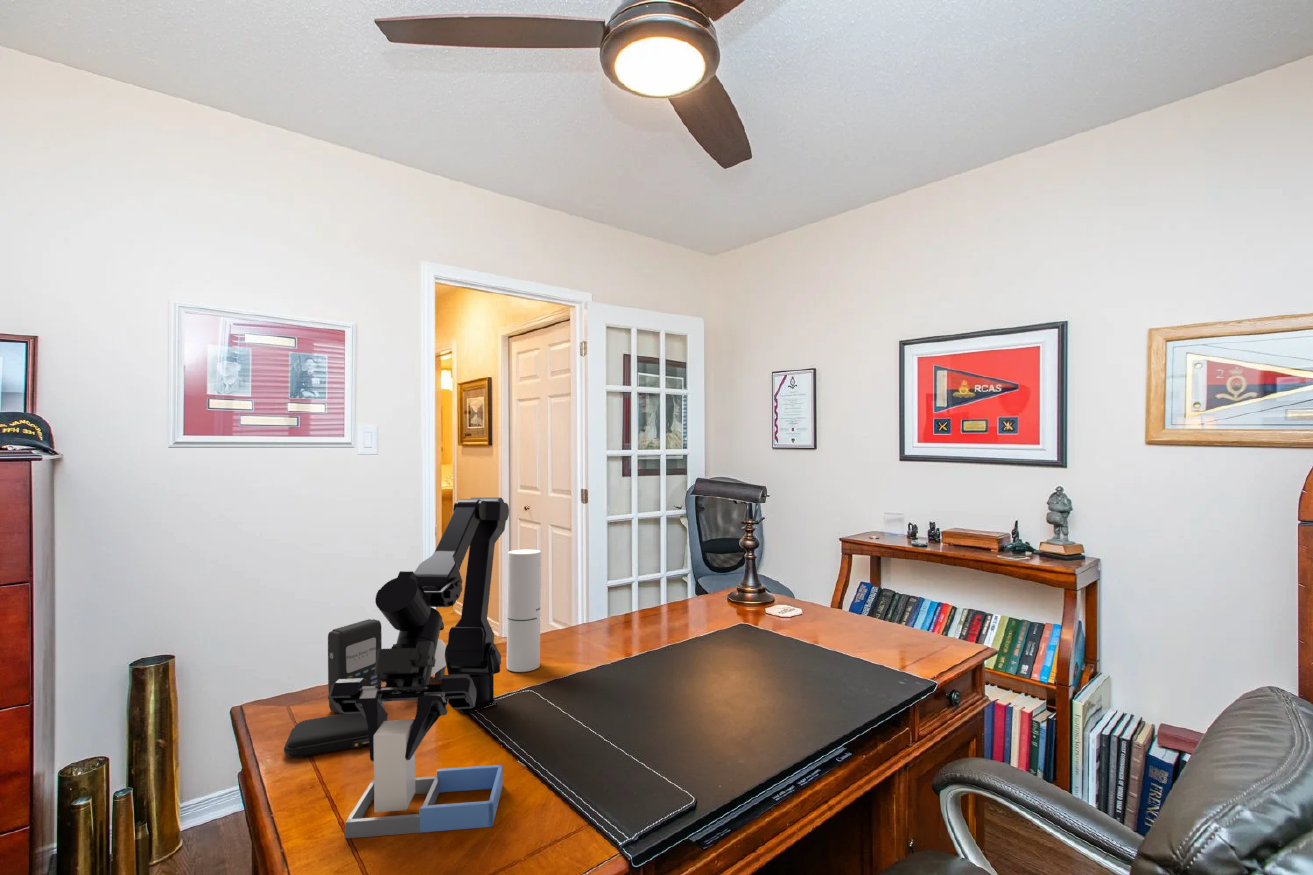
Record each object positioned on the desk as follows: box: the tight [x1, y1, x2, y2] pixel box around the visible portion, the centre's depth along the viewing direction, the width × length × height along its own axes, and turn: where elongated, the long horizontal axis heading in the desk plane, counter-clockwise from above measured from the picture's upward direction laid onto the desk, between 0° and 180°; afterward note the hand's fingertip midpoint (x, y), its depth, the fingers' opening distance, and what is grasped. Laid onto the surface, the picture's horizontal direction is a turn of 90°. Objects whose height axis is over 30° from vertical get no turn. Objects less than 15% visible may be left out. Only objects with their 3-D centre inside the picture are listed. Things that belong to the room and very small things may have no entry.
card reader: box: [327, 618, 383, 714], centre depth 113 cm, size 9×4×15 cm, turn 151°
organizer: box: [344, 764, 504, 839], centre depth 80 cm, size 18×9×3 cm, turn 97°
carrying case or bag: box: [283, 713, 369, 759], centre depth 99 cm, size 11×3×15 cm
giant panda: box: [431, 638, 447, 682], centre depth 120 cm, size 15×6×10 cm, turn 168°
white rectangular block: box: [373, 718, 416, 813], centre depth 79 cm, size 4×4×10 cm
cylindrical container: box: [506, 548, 542, 673], centre depth 131 cm, size 7×7×25 cm
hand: (389, 759), depth 78 cm, fingers closed on white rectangular block, 4 cm apart
